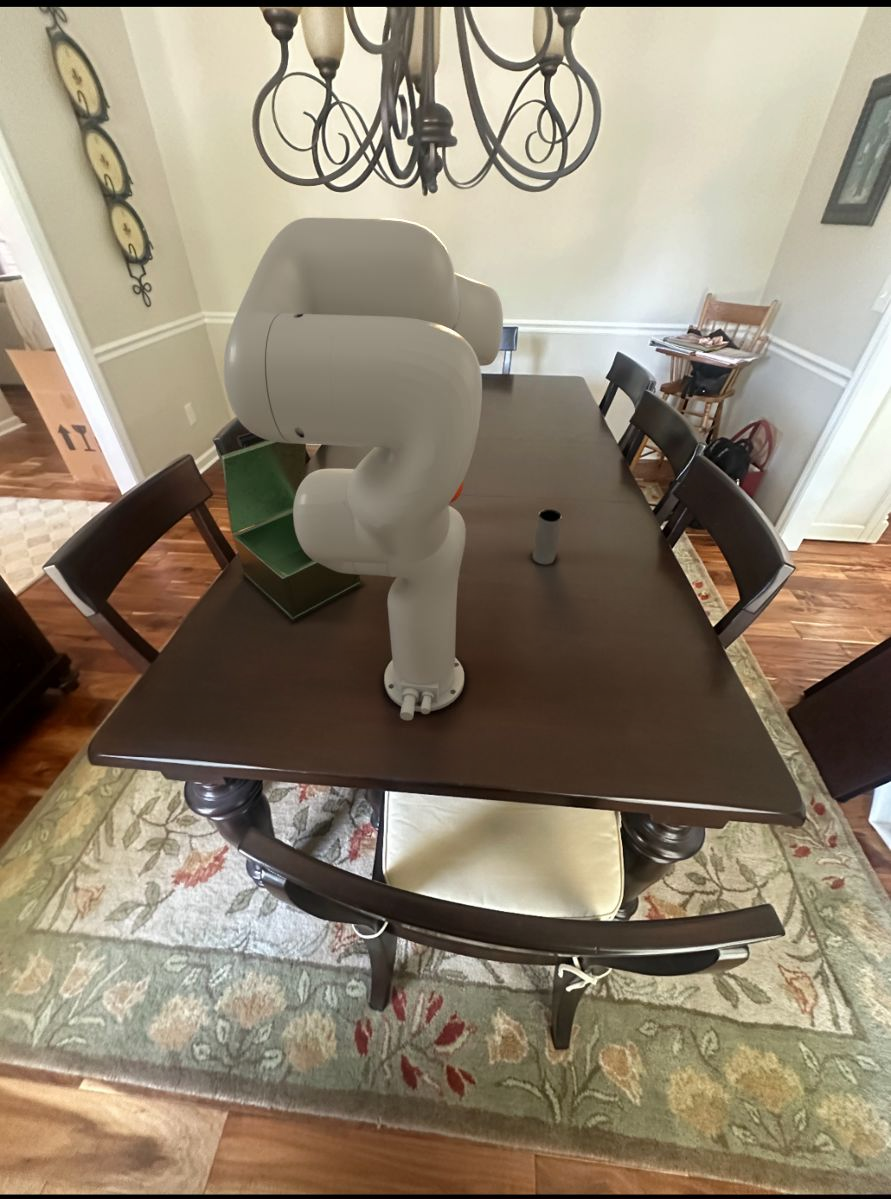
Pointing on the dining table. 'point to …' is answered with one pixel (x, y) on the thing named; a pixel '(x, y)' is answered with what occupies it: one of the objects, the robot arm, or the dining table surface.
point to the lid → (261, 479)
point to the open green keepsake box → (288, 568)
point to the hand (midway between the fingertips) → (439, 490)
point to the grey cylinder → (547, 536)
